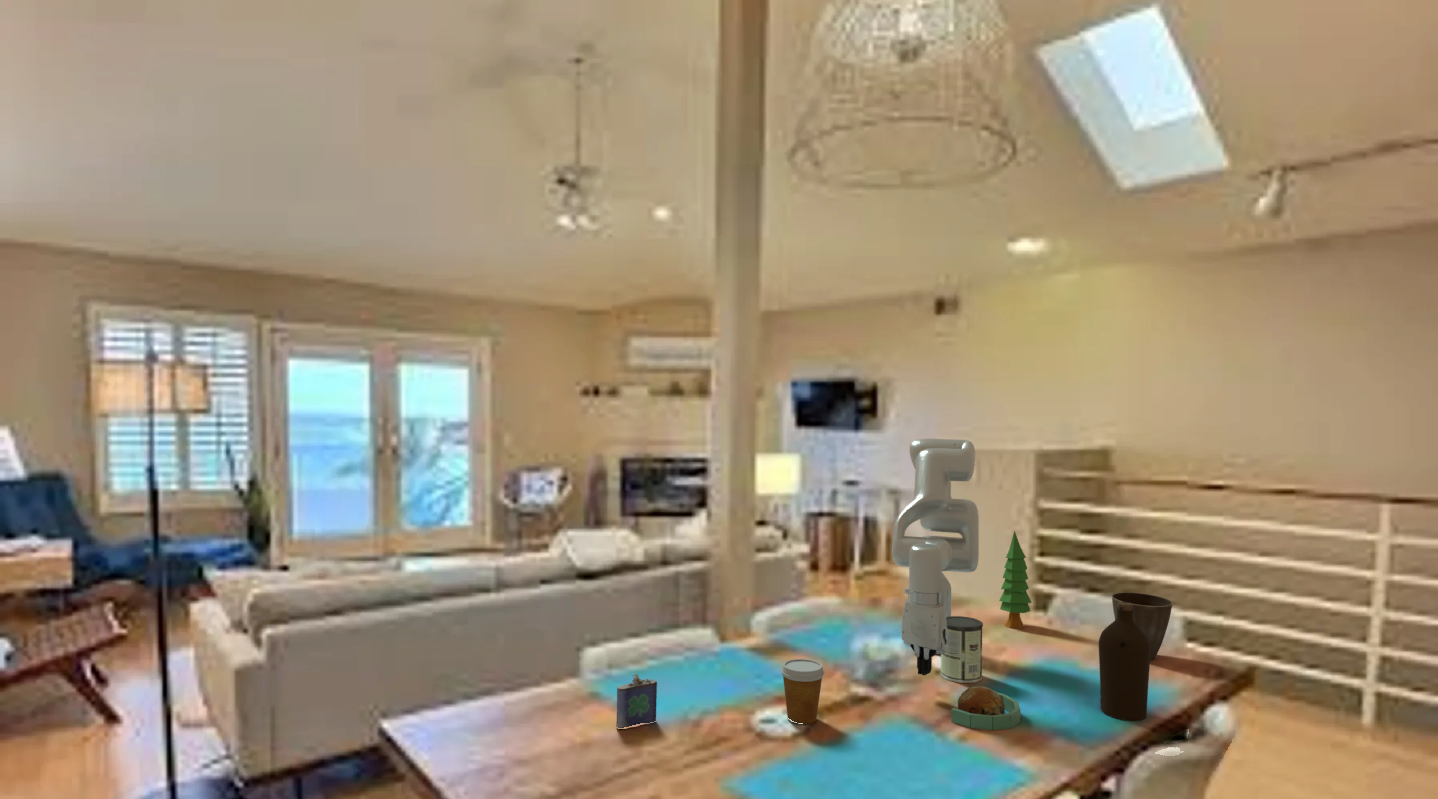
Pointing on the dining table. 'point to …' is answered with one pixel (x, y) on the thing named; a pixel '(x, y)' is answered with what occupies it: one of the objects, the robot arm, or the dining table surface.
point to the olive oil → (1124, 667)
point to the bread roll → (981, 701)
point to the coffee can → (963, 650)
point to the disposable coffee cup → (802, 689)
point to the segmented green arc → (990, 717)
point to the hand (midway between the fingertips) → (924, 673)
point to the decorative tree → (1015, 585)
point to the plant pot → (1147, 615)
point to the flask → (636, 702)
